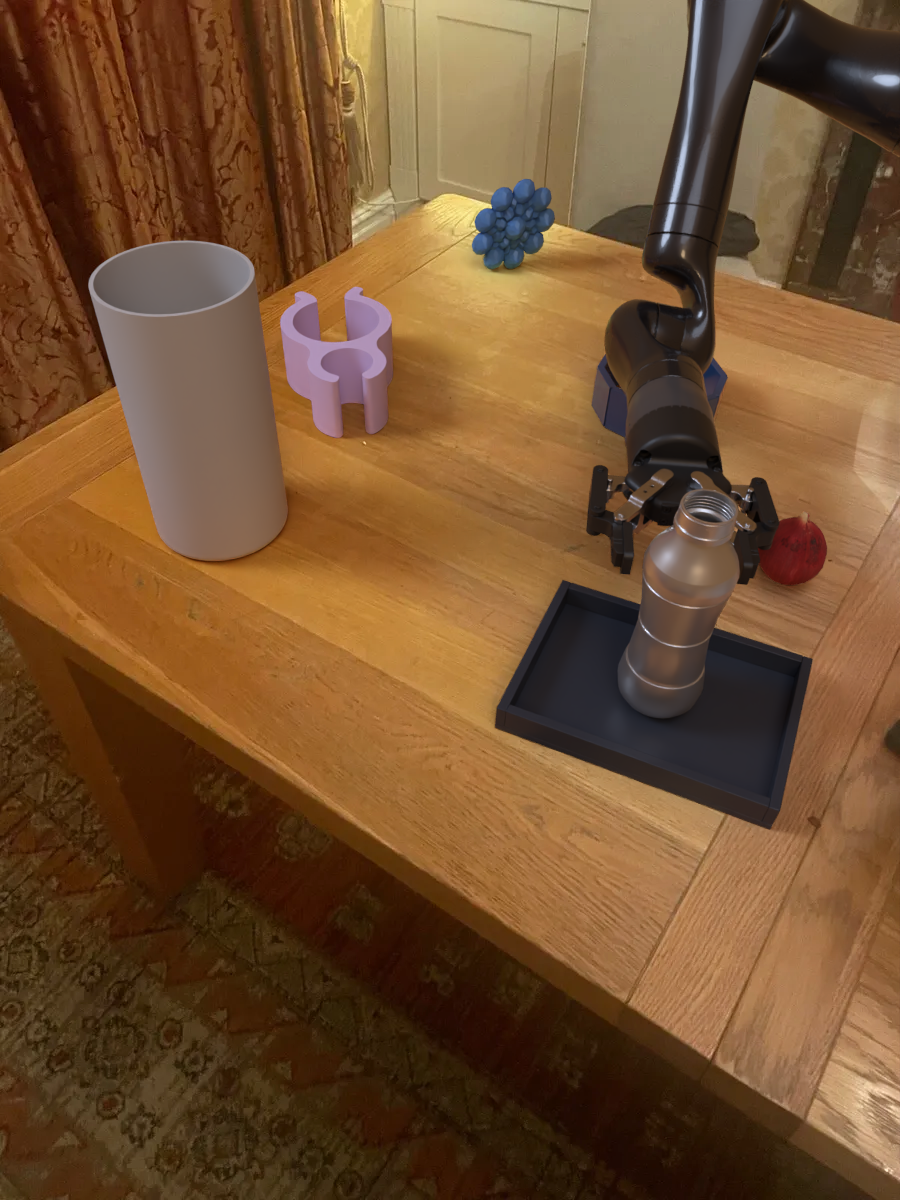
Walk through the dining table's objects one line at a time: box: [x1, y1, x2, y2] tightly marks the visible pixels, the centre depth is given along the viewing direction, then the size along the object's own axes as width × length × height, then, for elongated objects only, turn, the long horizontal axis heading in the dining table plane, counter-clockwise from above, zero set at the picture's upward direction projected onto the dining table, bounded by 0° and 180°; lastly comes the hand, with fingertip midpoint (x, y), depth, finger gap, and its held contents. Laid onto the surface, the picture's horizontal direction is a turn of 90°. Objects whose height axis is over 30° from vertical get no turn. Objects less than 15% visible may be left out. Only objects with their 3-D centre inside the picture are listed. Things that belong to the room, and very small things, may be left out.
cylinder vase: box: [88, 240, 289, 562], centre depth 79 cm, size 12×12×25 cm
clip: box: [279, 286, 394, 439], centre depth 103 cm, size 20×12×7 cm, turn 12°
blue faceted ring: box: [591, 353, 729, 438], centre depth 101 cm, size 14×14×5 cm
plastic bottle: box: [618, 489, 740, 719], centre depth 66 cm, size 6×7×20 cm
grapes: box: [471, 178, 556, 270], centre depth 123 cm, size 12×7×12 cm, turn 106°
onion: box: [758, 510, 828, 586], centre depth 81 cm, size 6×6×8 cm
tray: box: [494, 579, 814, 830], centre depth 73 cm, size 22×16×3 cm
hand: (686, 571), depth 66 cm, fingers open, 8 cm apart
